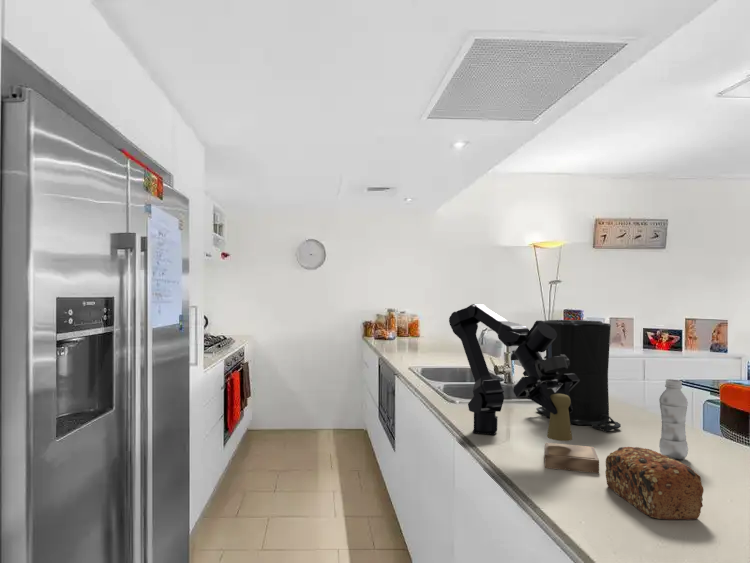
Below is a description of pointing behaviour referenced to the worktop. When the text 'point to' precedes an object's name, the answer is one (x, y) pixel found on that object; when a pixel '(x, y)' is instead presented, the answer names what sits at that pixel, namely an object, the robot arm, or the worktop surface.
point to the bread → (655, 483)
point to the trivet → (571, 457)
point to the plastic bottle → (673, 421)
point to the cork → (560, 419)
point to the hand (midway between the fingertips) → (563, 412)
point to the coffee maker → (584, 370)
